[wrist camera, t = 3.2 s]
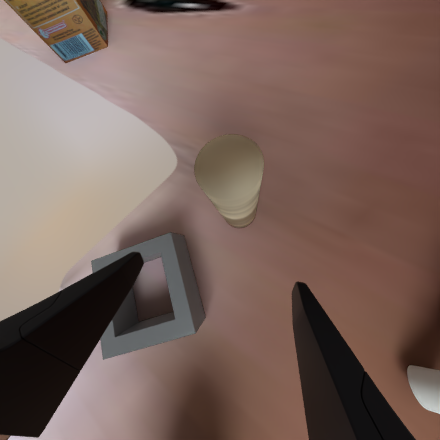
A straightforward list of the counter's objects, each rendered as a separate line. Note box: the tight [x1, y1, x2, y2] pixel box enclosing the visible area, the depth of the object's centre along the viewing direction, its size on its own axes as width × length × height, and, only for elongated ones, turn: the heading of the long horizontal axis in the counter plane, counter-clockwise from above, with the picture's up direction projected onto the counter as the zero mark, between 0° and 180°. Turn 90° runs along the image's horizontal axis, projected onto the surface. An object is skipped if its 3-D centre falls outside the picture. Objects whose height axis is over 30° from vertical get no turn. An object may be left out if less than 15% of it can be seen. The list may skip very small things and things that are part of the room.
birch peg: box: [194, 134, 264, 228], centre depth 16 cm, size 4×4×12 cm
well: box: [91, 232, 206, 360], centre depth 20 cm, size 11×11×4 cm
